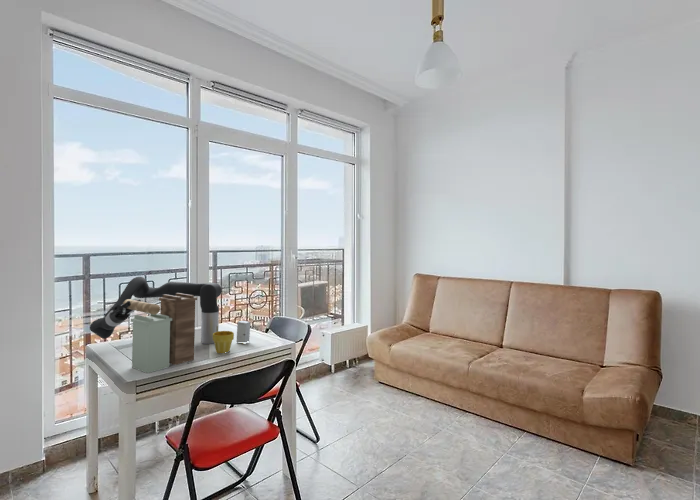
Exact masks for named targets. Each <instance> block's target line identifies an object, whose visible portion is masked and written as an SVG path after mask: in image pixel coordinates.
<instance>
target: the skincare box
mask: <svg viewBox="0 0 700 500" xmlns="http://www.w3.org/2000/svg"><path fill="white" fill-rule="evenodd" d="M250 335H251V322H250V321H247V320H246V321H245V320H240V321H237V328H236V342H247V341H249V342H250V337H251V336H250Z"/></svg>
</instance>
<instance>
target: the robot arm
mask: <svg viewBox="0 0 700 500" xmlns="http://www.w3.org/2000/svg"><path fill="white" fill-rule="evenodd" d="M222 292H223V290H222V287H221V286H220V284H219V283H216V282H207V283H196V282H195V283H194V282H187V281H186V282H185V281H167V282H166V283H164V284H162V285H160V286H159V287H153V286H150V285H149V284H148V282H147V279H146V278H145V277H143V276H136V277H133V278H132V279H130V281H129V282H128V283H127V284H126V286H125V288H124V289H123V291H122V293H121V294H120V296H119V297H118V299H117V301H116V302H115V303H114V304H112V306H111V307H110V309H108V310H107V312H105V314H104V317H100V318H97V319H94V321H92V323H90V325H89V330H90V331H91V332H92V333H93V334H95V335H96V336H97V337H99V338H101V339H102V340H103V339H104V340H105V339H108V338H110V337H111V335H113V333H114V331H115V328H116V327H118V326H119V325H121V324H122V323H124V322H125V321H126V320H128V318H130V314H131V313H134V311H136V310H131V309H127V308H128V307H129V306H130V305H131V304H130V301H127V302H126V303H125V304H123V302H124V301H125V300H127V299H131V300H132V298H133V297H135V298H136V299H138V300H137V301H141V302H142V300H141V299H149V298H159V297H163V295H164V294H167V295H173V296H176V293H182V294H188V295H194V297H199V307H200V309H201V312H200V313H201V314H200V317H201V319H200V321H201V322H200V343H201V344H205V345H210V344H211V345H212V344H215V343H214V341H213V333H215V332H218V331H219V321H220V320H219V318H220V317H219V316H220V315H219V314H220V313H219V312H220V307H219V306H218V305H217V298H218V297H220V296H221V294H222Z"/></svg>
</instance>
